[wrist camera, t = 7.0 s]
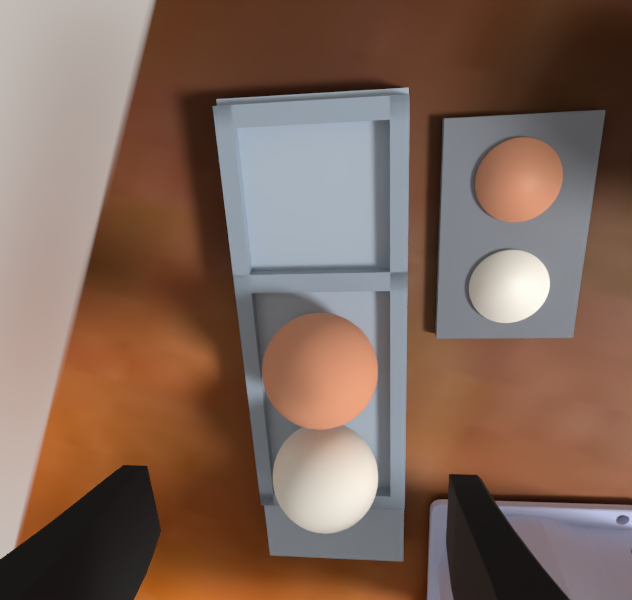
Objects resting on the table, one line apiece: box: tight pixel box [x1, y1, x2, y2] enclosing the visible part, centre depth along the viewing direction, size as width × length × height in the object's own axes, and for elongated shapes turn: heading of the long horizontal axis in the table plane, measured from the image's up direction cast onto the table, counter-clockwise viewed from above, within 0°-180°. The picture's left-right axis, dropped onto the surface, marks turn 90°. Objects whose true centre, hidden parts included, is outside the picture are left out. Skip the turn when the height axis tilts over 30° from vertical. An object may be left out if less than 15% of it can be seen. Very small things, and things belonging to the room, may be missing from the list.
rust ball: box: [262, 313, 378, 430], centre depth 18 cm, size 4×4×4 cm
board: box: [213, 88, 410, 562], centre depth 20 cm, size 6×20×2 cm, turn 3°
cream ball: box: [273, 425, 378, 534], centre depth 19 cm, size 4×4×4 cm
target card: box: [435, 110, 606, 339], centre depth 18 cm, size 5×8×1 cm, turn 3°
